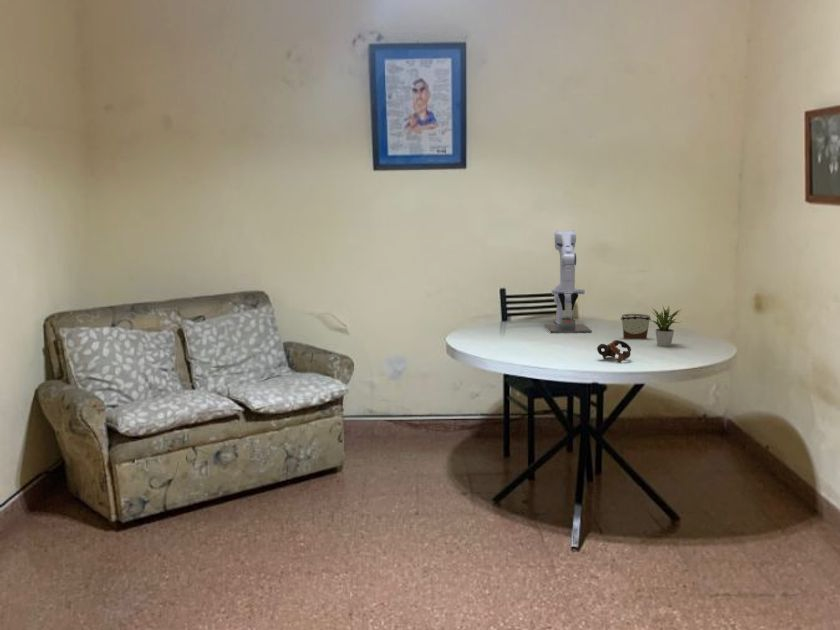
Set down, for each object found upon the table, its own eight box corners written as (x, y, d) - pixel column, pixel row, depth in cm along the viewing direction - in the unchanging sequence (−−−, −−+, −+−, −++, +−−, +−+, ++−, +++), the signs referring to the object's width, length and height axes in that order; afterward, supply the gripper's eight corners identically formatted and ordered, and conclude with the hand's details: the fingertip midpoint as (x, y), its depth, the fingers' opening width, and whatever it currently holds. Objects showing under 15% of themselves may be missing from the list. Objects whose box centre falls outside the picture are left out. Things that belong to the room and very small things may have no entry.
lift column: (563, 321, 338) (563, 303, 337) (570, 321, 338) (570, 303, 337) (564, 322, 335) (564, 304, 334) (571, 322, 335) (572, 304, 334)
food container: (647, 336, 318) (648, 313, 316) (650, 339, 312) (651, 315, 310) (617, 336, 319) (618, 313, 317) (620, 339, 313) (620, 315, 311)
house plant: (689, 349, 290) (691, 307, 287) (653, 349, 291) (654, 307, 288) (679, 342, 304) (680, 302, 301) (644, 342, 305) (646, 303, 302)
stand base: (544, 326, 346) (544, 314, 345) (583, 326, 346) (583, 314, 345) (550, 333, 328) (550, 320, 328) (591, 332, 328) (591, 320, 327)
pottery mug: (620, 357, 279) (630, 340, 274) (626, 373, 271) (636, 356, 266) (591, 350, 277) (600, 333, 272) (595, 366, 269) (605, 349, 265)
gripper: (553, 281, 330) (553, 311, 332) (586, 280, 330) (585, 311, 332) (550, 279, 337) (550, 309, 339) (583, 279, 337) (582, 309, 339)
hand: (567, 310), depth 336 cm, fingers closed on lift column, 3 cm apart
